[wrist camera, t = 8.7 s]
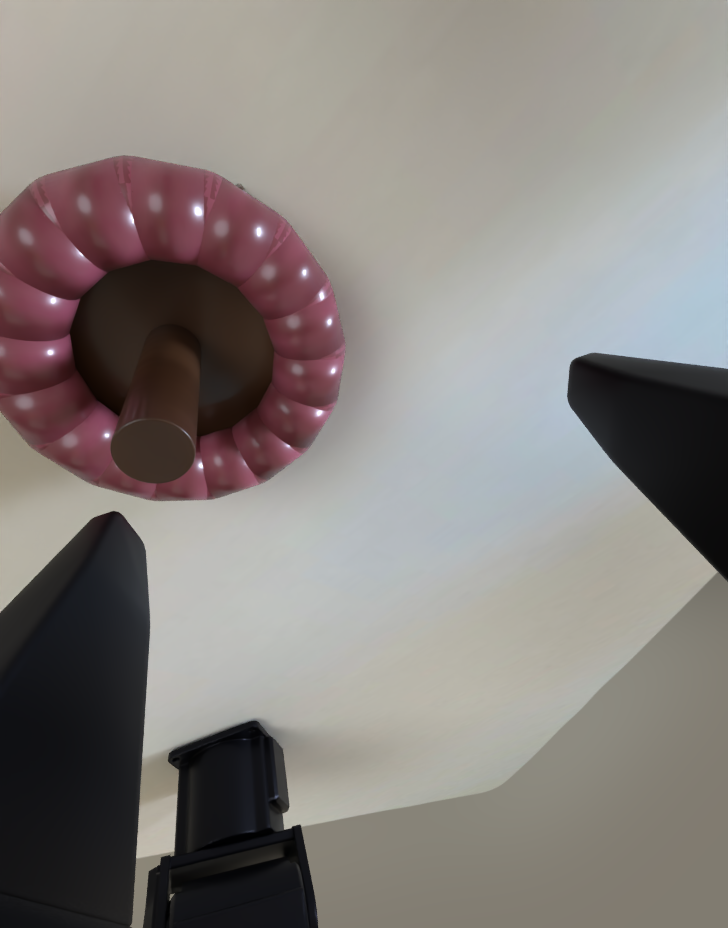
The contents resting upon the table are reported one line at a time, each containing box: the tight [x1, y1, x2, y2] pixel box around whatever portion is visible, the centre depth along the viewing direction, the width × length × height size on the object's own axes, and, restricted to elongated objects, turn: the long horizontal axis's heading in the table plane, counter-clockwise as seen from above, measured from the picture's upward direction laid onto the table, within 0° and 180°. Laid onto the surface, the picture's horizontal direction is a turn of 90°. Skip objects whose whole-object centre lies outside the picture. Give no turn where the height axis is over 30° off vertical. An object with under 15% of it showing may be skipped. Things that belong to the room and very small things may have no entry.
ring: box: [0, 155, 346, 501], centre depth 15 cm, size 11×11×2 cm
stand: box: [70, 184, 274, 484], centre depth 13 cm, size 8×8×8 cm
